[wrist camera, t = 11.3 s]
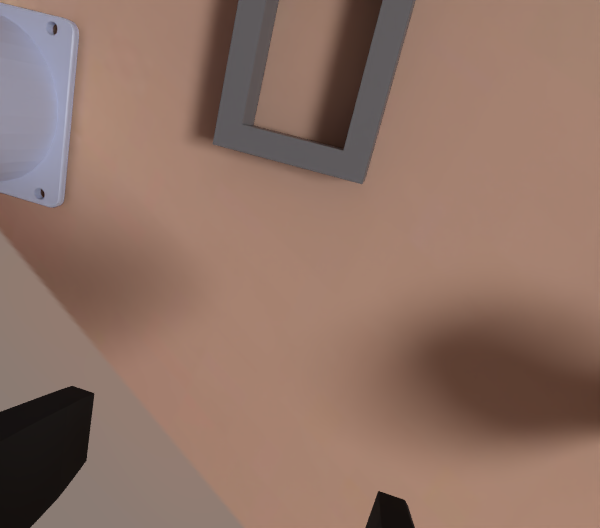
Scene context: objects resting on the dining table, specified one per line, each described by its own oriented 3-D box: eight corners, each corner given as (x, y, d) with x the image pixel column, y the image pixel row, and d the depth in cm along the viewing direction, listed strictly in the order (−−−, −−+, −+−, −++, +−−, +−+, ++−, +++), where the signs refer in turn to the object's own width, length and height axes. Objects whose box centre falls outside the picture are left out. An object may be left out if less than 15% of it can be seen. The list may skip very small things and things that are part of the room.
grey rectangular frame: (226, 143, 20) (212, 144, 18) (269, -89, 17) (258, -109, 16) (364, 180, 19) (362, 184, 18) (431, -57, 17) (434, -75, 15)
